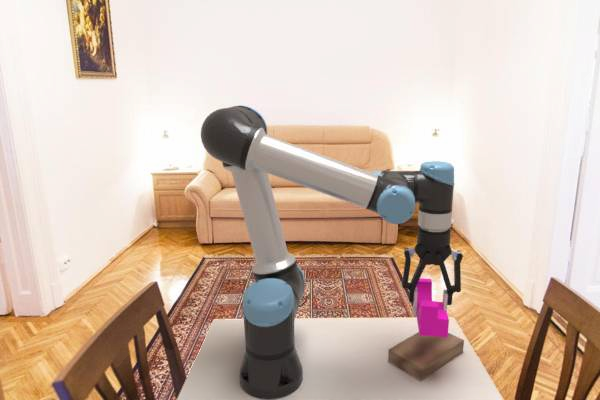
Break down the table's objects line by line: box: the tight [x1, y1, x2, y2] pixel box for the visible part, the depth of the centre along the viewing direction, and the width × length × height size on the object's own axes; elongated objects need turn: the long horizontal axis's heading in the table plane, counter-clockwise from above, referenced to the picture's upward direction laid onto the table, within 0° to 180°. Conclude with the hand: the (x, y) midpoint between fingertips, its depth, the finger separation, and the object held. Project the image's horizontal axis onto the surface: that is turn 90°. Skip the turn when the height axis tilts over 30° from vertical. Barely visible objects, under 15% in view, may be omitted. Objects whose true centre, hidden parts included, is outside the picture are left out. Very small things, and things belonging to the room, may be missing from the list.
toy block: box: [415, 277, 450, 337], centre depth 107 cm, size 15×6×8 cm, turn 170°
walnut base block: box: [387, 331, 465, 382], centre depth 112 cm, size 10×18×4 cm, turn 129°
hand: (429, 314), depth 110 cm, fingers closed on toy block, 6 cm apart
